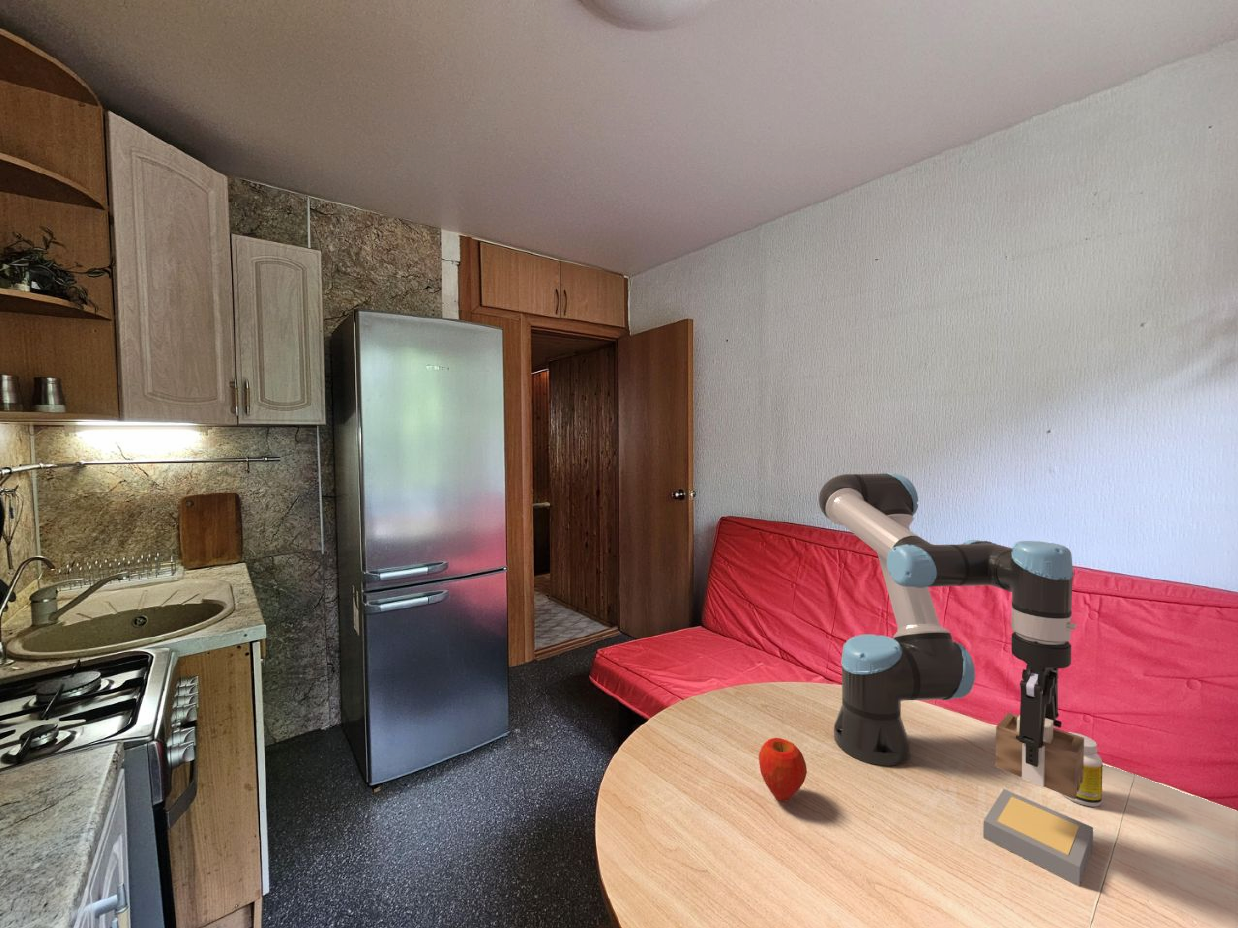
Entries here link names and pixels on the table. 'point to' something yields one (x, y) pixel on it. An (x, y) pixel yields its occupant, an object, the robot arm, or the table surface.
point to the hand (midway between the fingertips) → (1038, 771)
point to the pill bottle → (1090, 775)
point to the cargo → (1047, 729)
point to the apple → (782, 768)
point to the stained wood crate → (1059, 756)
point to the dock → (1040, 835)
